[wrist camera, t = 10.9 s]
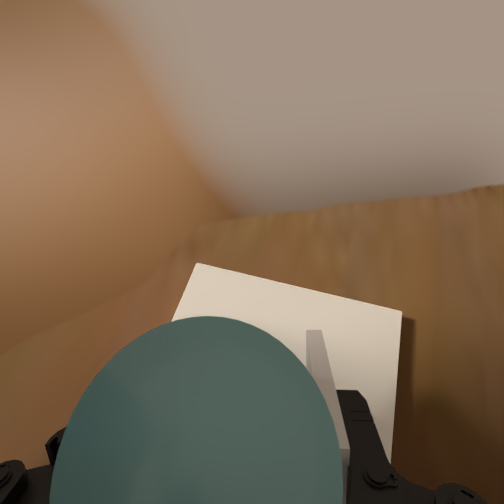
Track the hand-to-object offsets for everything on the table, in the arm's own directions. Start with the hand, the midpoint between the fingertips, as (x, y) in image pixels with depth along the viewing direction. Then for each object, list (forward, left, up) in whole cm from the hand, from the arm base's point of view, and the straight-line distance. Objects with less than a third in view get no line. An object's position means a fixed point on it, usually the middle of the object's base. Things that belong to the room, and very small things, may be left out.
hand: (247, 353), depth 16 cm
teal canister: (+1, -4, -4) cm, 6 cm away
